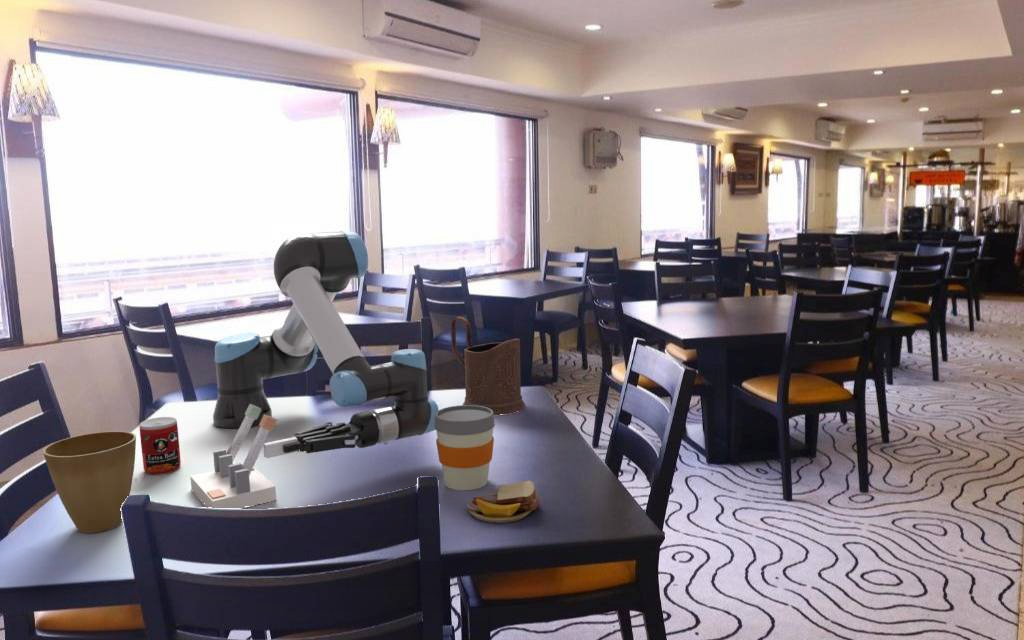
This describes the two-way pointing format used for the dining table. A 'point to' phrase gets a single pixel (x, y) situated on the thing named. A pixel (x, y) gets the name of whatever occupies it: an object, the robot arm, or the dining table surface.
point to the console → (231, 485)
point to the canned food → (160, 445)
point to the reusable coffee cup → (465, 445)
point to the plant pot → (93, 476)
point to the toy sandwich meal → (506, 503)
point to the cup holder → (491, 373)
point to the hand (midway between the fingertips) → (265, 450)
